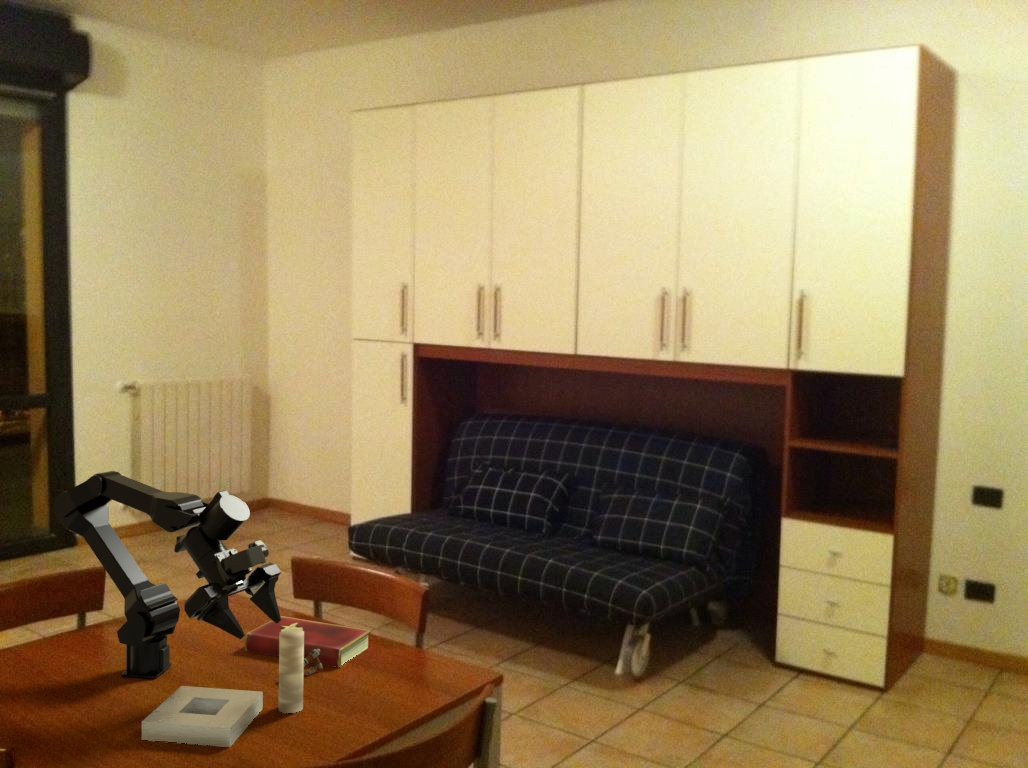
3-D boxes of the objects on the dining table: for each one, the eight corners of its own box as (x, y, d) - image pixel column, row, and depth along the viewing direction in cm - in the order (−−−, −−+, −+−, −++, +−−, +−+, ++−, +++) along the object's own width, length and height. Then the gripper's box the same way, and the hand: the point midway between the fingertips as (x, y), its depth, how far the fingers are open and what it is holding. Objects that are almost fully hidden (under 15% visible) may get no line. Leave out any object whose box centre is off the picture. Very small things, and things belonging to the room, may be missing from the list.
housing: (141, 740, 146) (141, 721, 146) (181, 703, 160) (181, 685, 160) (229, 747, 145) (230, 728, 145) (262, 709, 159) (262, 691, 159)
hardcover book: (339, 670, 178) (340, 648, 178) (244, 653, 185) (244, 632, 185) (370, 649, 189) (370, 629, 189) (279, 634, 196) (279, 614, 196)
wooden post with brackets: (328, 666, 177) (320, 647, 175) (294, 694, 171) (286, 674, 170) (323, 663, 178) (315, 644, 176) (289, 691, 173) (280, 671, 171)
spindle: (275, 712, 158) (276, 636, 157) (283, 702, 162) (284, 628, 161) (298, 714, 158) (299, 637, 156) (306, 704, 161) (307, 629, 160)
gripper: (197, 539, 154) (250, 617, 150) (273, 518, 171) (323, 587, 167) (161, 580, 158) (212, 657, 154) (238, 555, 175) (286, 624, 171)
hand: (261, 629), depth 161 cm, fingers open, 9 cm apart
